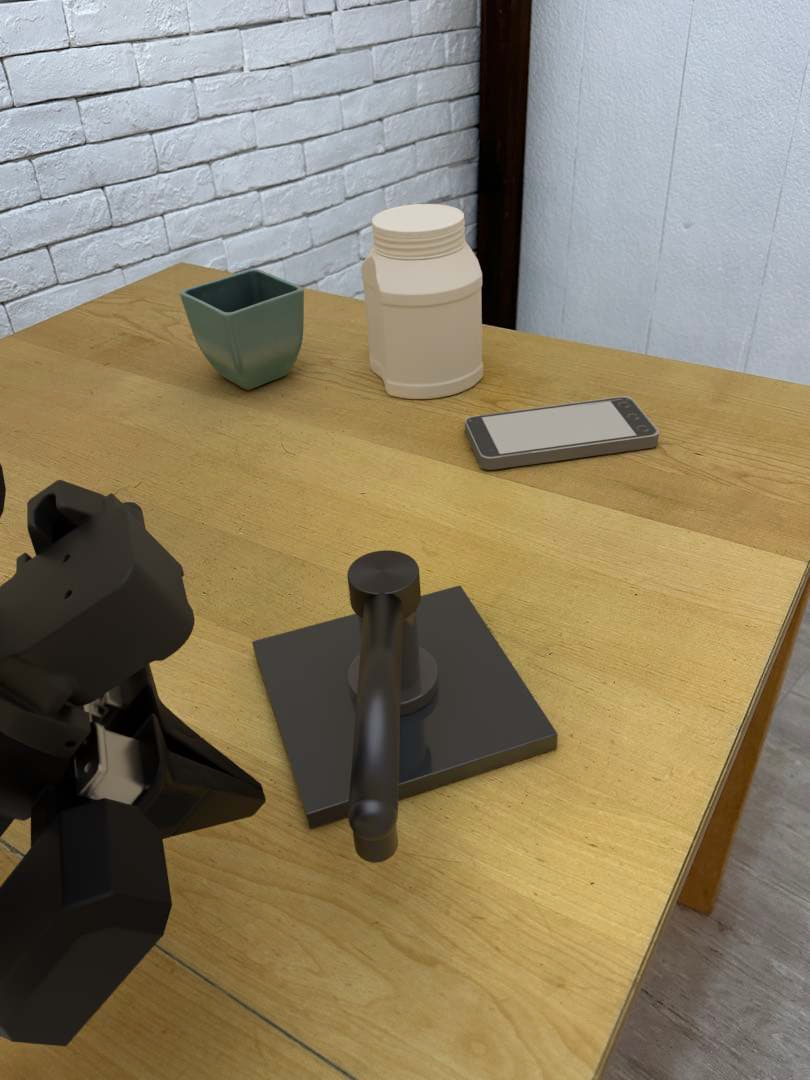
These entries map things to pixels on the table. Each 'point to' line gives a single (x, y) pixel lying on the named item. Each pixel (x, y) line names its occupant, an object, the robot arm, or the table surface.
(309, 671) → the black flat block
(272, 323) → the flower pot
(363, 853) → the spout
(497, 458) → the smartphone
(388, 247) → the jar
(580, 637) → the table surface
